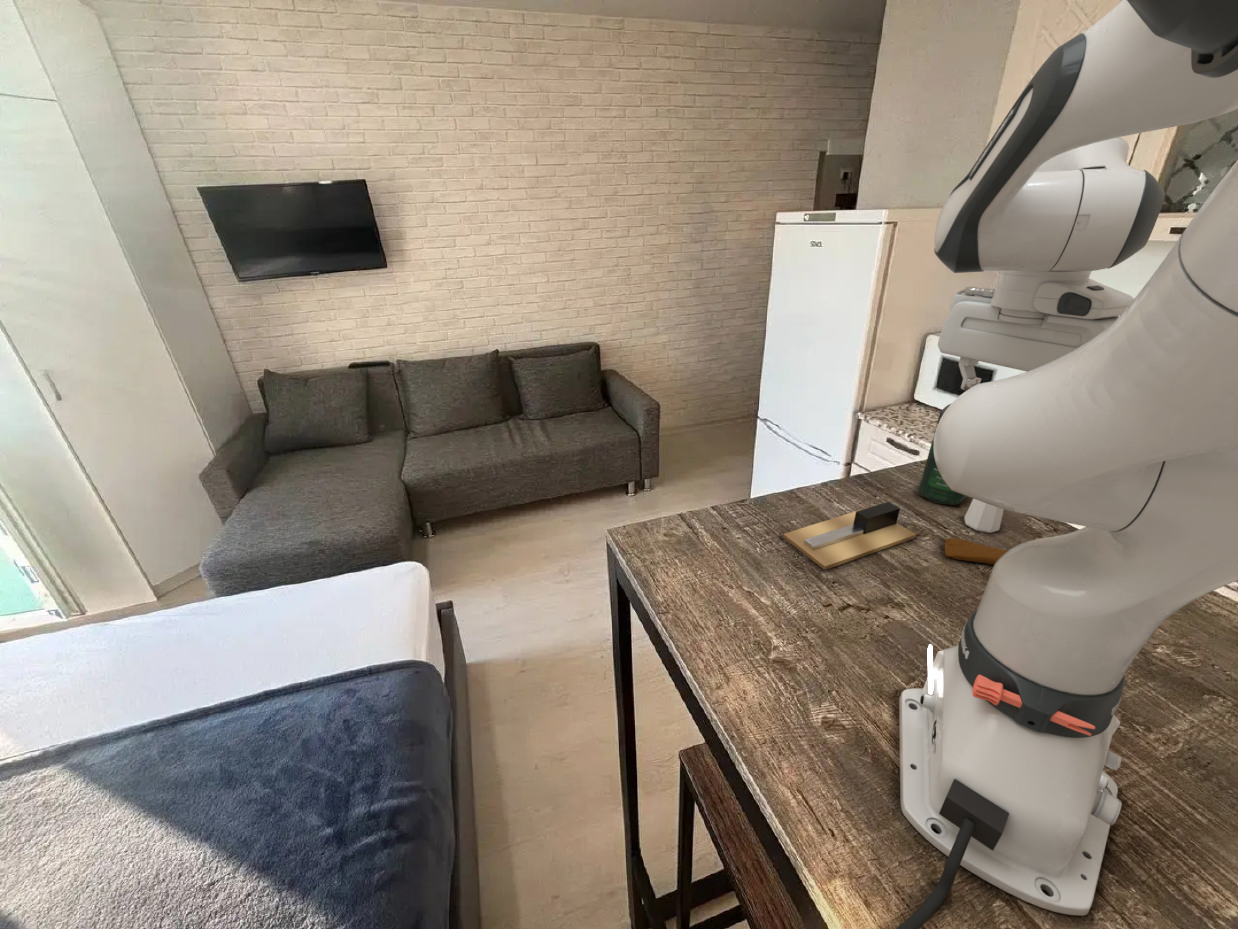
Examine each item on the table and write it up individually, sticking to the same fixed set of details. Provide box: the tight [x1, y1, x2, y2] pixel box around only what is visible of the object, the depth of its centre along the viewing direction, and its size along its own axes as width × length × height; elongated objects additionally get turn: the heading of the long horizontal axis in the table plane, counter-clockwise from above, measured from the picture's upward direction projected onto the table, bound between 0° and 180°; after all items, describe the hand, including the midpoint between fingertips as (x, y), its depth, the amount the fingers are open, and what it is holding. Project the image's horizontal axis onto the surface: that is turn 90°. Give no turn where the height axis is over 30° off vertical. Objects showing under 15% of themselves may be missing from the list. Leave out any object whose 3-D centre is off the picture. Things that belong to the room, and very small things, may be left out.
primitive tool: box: [944, 537, 1009, 566], centre depth 79 cm, size 19×6×4 cm, turn 61°
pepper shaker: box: [963, 498, 1004, 534], centre depth 88 cm, size 5×5×11 cm
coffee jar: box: [917, 402, 967, 506], centre depth 96 cm, size 10×8×19 cm
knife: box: [804, 501, 901, 550], centre depth 87 cm, size 18×3×3 cm, turn 113°
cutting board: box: [782, 506, 917, 571], centre depth 88 cm, size 20×10×1 cm, turn 113°
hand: (1002, 399), depth 69 cm, fingers open, 8 cm apart
